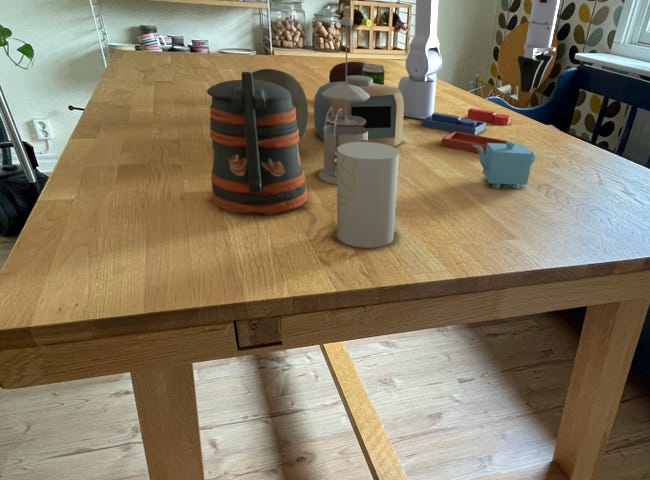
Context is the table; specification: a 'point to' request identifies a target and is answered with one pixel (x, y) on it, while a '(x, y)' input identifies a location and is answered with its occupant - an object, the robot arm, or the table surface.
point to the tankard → (255, 148)
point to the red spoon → (488, 116)
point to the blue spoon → (453, 120)
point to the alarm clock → (366, 110)
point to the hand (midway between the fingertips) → (529, 89)
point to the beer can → (374, 73)
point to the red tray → (468, 141)
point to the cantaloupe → (293, 87)
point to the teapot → (506, 163)
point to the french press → (341, 121)
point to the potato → (340, 71)
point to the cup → (366, 193)
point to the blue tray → (453, 126)
